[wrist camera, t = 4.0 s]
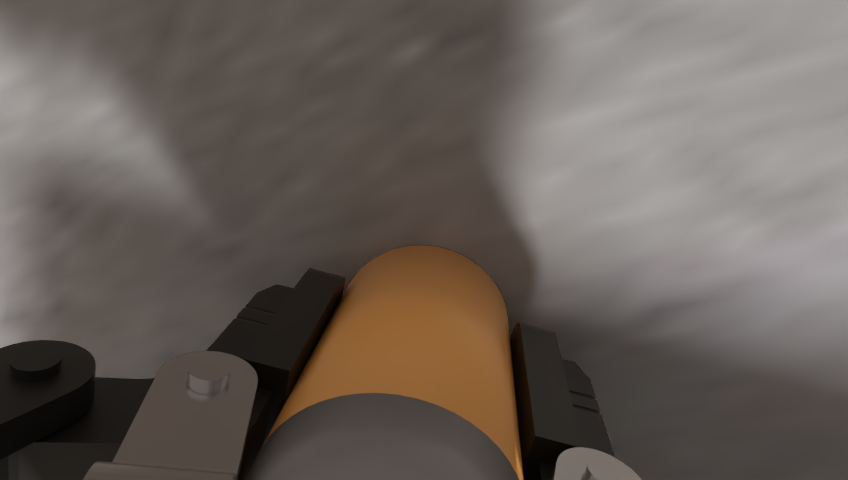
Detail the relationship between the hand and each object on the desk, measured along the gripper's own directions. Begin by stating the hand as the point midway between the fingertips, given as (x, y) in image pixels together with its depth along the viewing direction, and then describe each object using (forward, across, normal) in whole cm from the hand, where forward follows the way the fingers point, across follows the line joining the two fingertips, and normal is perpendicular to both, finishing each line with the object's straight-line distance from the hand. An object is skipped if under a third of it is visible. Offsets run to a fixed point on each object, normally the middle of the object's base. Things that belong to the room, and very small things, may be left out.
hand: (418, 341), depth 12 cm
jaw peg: (+1, 0, 0) cm, 1 cm away
